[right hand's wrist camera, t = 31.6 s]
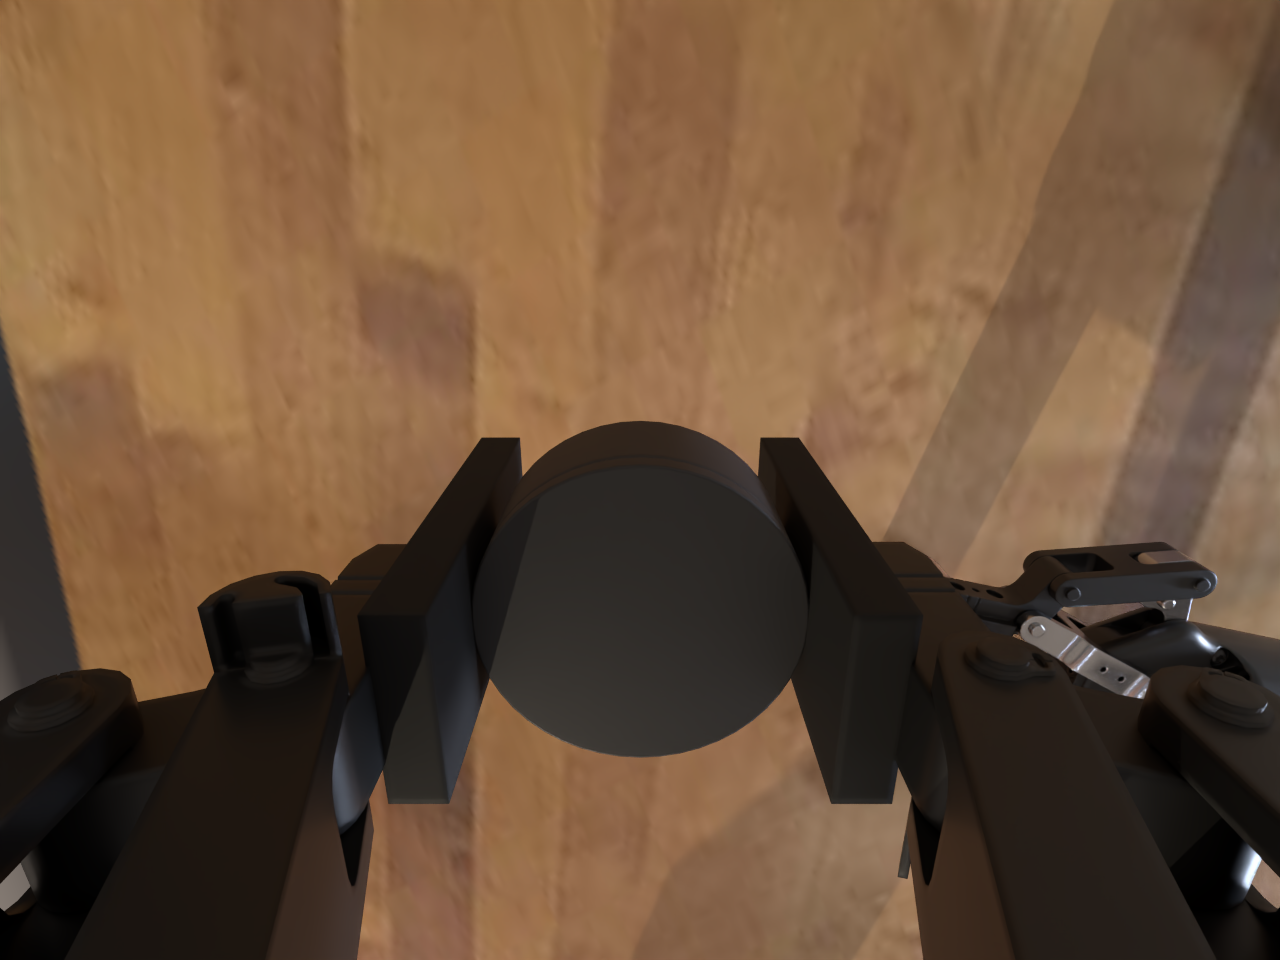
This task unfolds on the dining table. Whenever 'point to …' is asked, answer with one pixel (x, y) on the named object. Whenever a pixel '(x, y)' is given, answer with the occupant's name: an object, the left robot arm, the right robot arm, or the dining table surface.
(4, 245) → the dining table surface
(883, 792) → the right robot arm
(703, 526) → the lid
